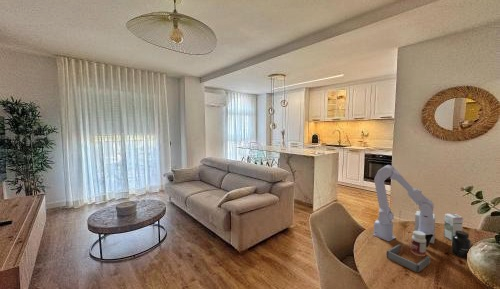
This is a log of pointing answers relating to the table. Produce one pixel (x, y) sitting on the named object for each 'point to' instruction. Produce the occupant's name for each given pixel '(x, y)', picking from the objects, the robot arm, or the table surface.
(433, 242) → the supplement box
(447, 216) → the syrup box
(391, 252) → the box
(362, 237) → the table surface
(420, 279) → the table surface
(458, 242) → the supplement bottle
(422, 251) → the pill bottle
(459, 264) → the table surface
